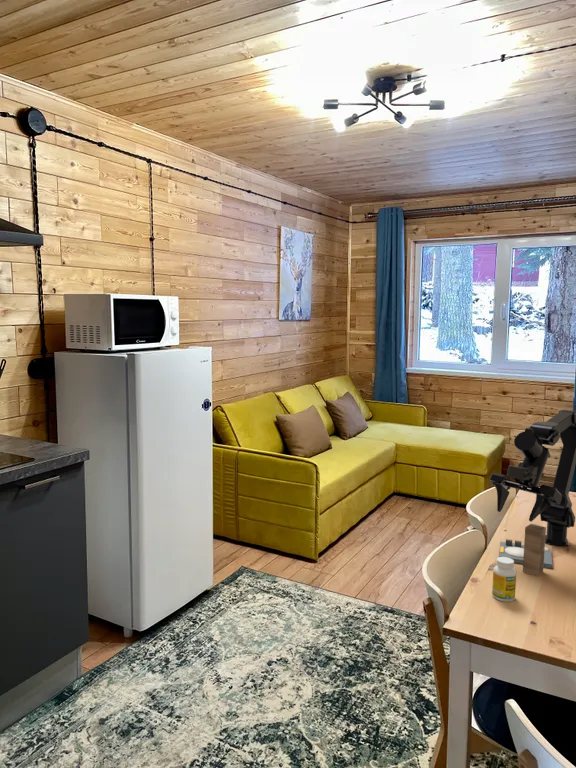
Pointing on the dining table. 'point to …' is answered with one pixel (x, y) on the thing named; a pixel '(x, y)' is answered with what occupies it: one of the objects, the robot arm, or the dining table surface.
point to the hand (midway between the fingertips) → (514, 516)
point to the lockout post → (534, 549)
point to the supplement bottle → (504, 580)
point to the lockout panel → (521, 552)
